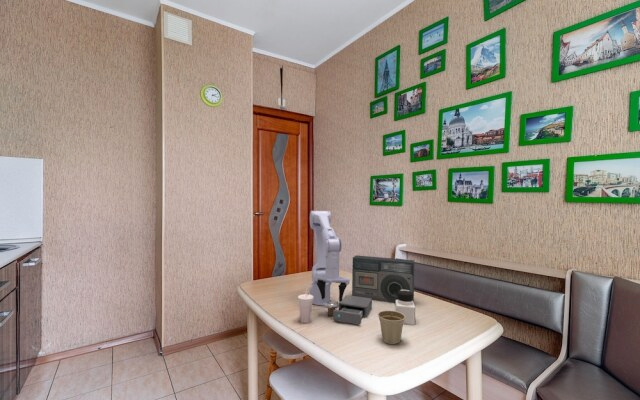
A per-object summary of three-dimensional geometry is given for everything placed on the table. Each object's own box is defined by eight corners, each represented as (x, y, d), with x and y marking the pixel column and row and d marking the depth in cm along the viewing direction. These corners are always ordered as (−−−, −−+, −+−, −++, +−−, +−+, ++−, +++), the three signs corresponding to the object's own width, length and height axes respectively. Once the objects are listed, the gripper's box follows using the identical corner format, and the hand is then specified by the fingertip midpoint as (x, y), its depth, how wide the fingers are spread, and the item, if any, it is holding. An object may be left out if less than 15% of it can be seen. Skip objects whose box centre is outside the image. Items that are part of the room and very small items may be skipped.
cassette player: (352, 297, 145) (352, 257, 146) (355, 293, 152) (356, 255, 152) (412, 306, 135) (413, 263, 135) (413, 301, 141) (414, 260, 141)
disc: (323, 307, 120) (323, 303, 120) (327, 303, 125) (327, 299, 125) (336, 309, 118) (336, 305, 118) (340, 304, 123) (340, 301, 123)
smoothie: (301, 325, 112) (301, 289, 112) (294, 319, 117) (295, 284, 117) (316, 322, 115) (316, 286, 115) (309, 316, 120) (309, 282, 120)
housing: (366, 317, 120) (366, 307, 120) (338, 313, 124) (338, 302, 124) (371, 308, 130) (371, 298, 130) (346, 304, 135) (346, 295, 135)
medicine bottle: (415, 325, 113) (415, 294, 113) (396, 323, 115) (396, 293, 115) (413, 318, 120) (413, 289, 120) (395, 316, 122) (395, 287, 122)
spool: (326, 316, 121) (326, 306, 121) (329, 313, 124) (329, 304, 124) (334, 317, 119) (334, 308, 119) (336, 314, 122) (336, 305, 122)
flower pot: (374, 334, 105) (374, 310, 105) (399, 333, 106) (399, 309, 106) (381, 347, 96) (382, 321, 96) (409, 346, 97) (409, 320, 97)
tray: (359, 325, 111) (359, 315, 111) (332, 320, 115) (332, 310, 115) (366, 314, 122) (366, 304, 122) (341, 310, 126) (341, 301, 126)
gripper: (312, 267, 120) (312, 300, 120) (346, 270, 115) (345, 305, 115) (318, 264, 127) (318, 295, 127) (351, 267, 122) (350, 299, 122)
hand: (331, 299), depth 121 cm, fingers open, 7 cm apart
